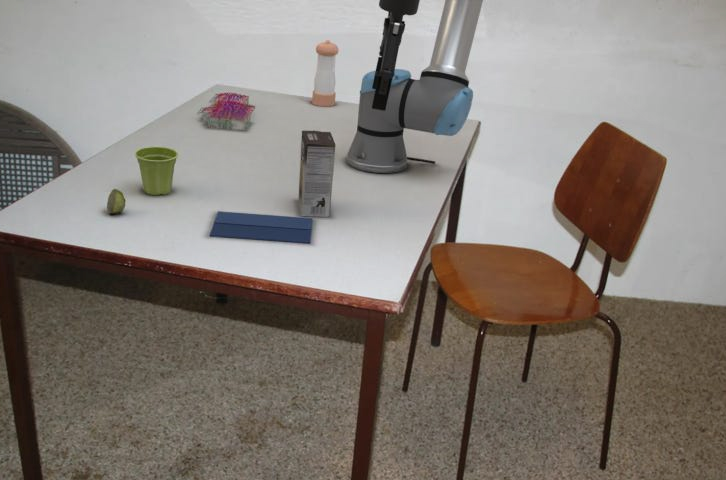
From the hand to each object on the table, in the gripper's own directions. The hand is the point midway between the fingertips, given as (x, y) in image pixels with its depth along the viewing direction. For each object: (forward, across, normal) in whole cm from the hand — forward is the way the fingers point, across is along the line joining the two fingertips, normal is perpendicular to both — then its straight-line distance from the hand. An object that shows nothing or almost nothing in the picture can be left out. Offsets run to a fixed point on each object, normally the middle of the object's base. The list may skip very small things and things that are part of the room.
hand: (378, 99), depth 162 cm
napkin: (+26, +15, -19) cm, 35 cm away
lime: (+30, +13, -49) cm, 59 cm away
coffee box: (+26, +2, -9) cm, 27 cm away
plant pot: (+30, -1, -44) cm, 53 cm away
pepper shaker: (+30, -88, -11) cm, 94 cm away
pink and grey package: (+32, -65, -38) cm, 82 cm away
